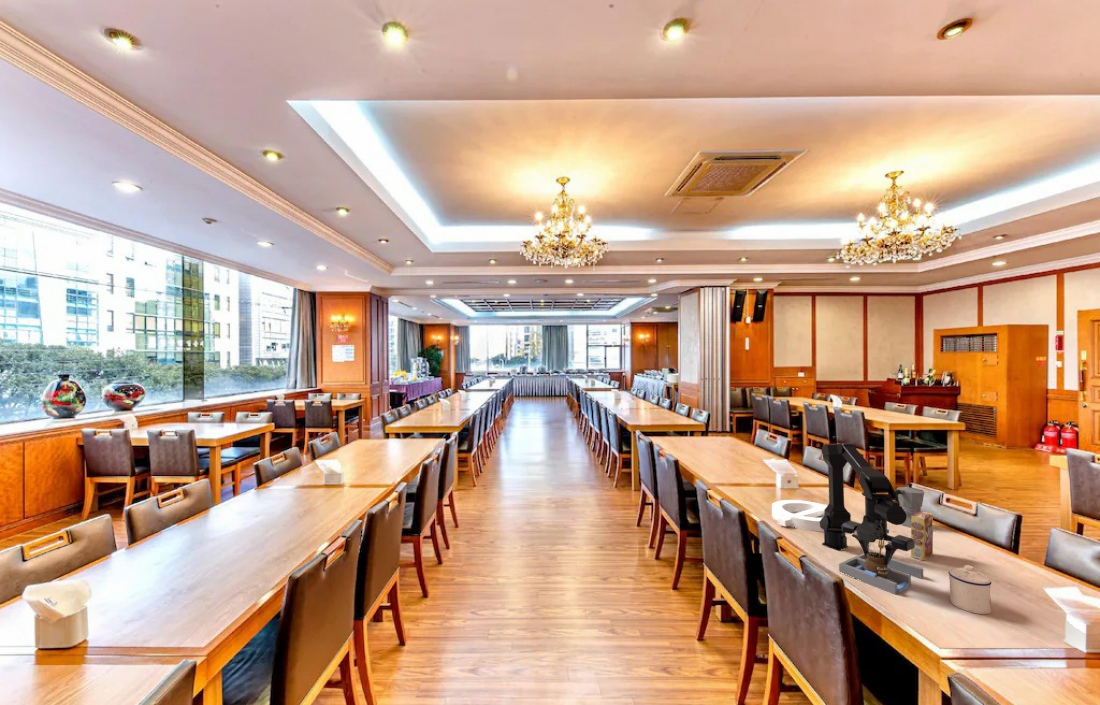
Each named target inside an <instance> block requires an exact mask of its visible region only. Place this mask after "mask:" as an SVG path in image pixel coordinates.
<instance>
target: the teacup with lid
mask: <svg viewBox="0 0 1100 705" xmlns="http://www.w3.org/2000/svg"><path fill="white" fill-rule="evenodd" d="M947 573H948V579H949V601H950V602H951V604H953V605H954V606H955V607H957V608H958V609H960V610H963V611H965V612H969V613H971V614H972V613H973V614H978V615H989V614H990V613H991V612H992V602H991V600H992V596H991V585H992V581H991V579H990V578H989V576H987V575H986V574H983V573H981V572H979V571H977V570H975V568H974V567H973V566H972V565H969V564H966V565H965V564H964V566H963V567H952V568H951V567H950V569H948V572H947Z"/></svg>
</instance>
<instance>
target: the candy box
mask: <svg viewBox="0 0 1100 705" xmlns="http://www.w3.org/2000/svg"><path fill="white" fill-rule="evenodd" d="M933 518H934V516H933V514H932V513H931V512H925V511H922V510H921V511H919V512H918V513H916V514H914V515H912V516H911V529H910V538H912V539H913V541H914V542H915V548H913V549H911V550H910V557H911V558H913V557H914V559H916V558H917V560H919V559H920V560H921V561H923V562H924V561H925V560H927V559H928V558H930V557H932V556H933V553H934V552H933V551H934V550H933V546H934V544H933V542H934V541H933V540H934V539H933V538H934V537H933V536H934V535H933V534H934V530H933V529H934V527H933V525H934V524H933V522H934V520H933ZM920 560H919V561H920Z"/></svg>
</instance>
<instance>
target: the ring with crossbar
mask: <svg viewBox="0 0 1100 705" xmlns="http://www.w3.org/2000/svg"><path fill="white" fill-rule="evenodd" d="M827 506H828V504H824V503H823V504H822V503H820V502H813V501H807V500H798V499H782V500H778V501H775V502H773V503H771V517H772V518H773V519H774V520H775V521H776V520H777V525H779V526H783V527H790V526H791V527H790V528H794V527H795V529H799V530H804V531H810V532H817V533H821V532H822V533H824V530H823V529H822V528H821V527H820V523H819V522H820V520H821V519H822V518H823V516H824V510H825V508H826V507H827Z"/></svg>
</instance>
